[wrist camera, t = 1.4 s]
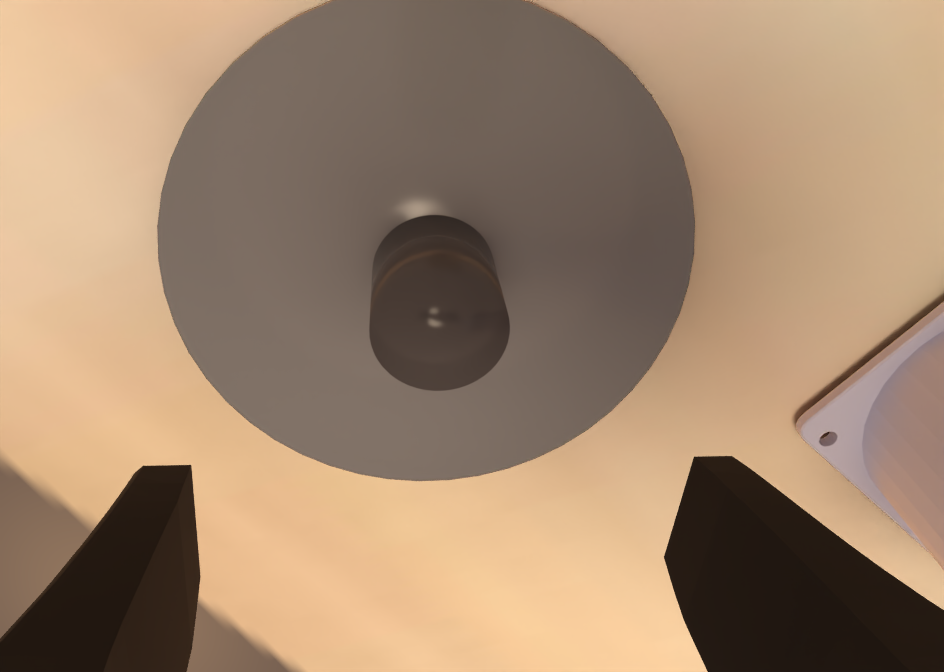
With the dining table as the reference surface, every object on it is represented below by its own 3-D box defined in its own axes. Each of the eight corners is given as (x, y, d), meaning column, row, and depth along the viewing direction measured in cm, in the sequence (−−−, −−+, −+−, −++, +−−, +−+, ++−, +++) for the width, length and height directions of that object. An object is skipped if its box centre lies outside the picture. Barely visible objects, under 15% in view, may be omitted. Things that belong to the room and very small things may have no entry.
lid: (785, 233, 21) (858, 299, 18) (451, 531, 25) (460, 629, 22) (401, -166, 16) (404, -176, 13) (61, 286, 20) (-3, 366, 17)
